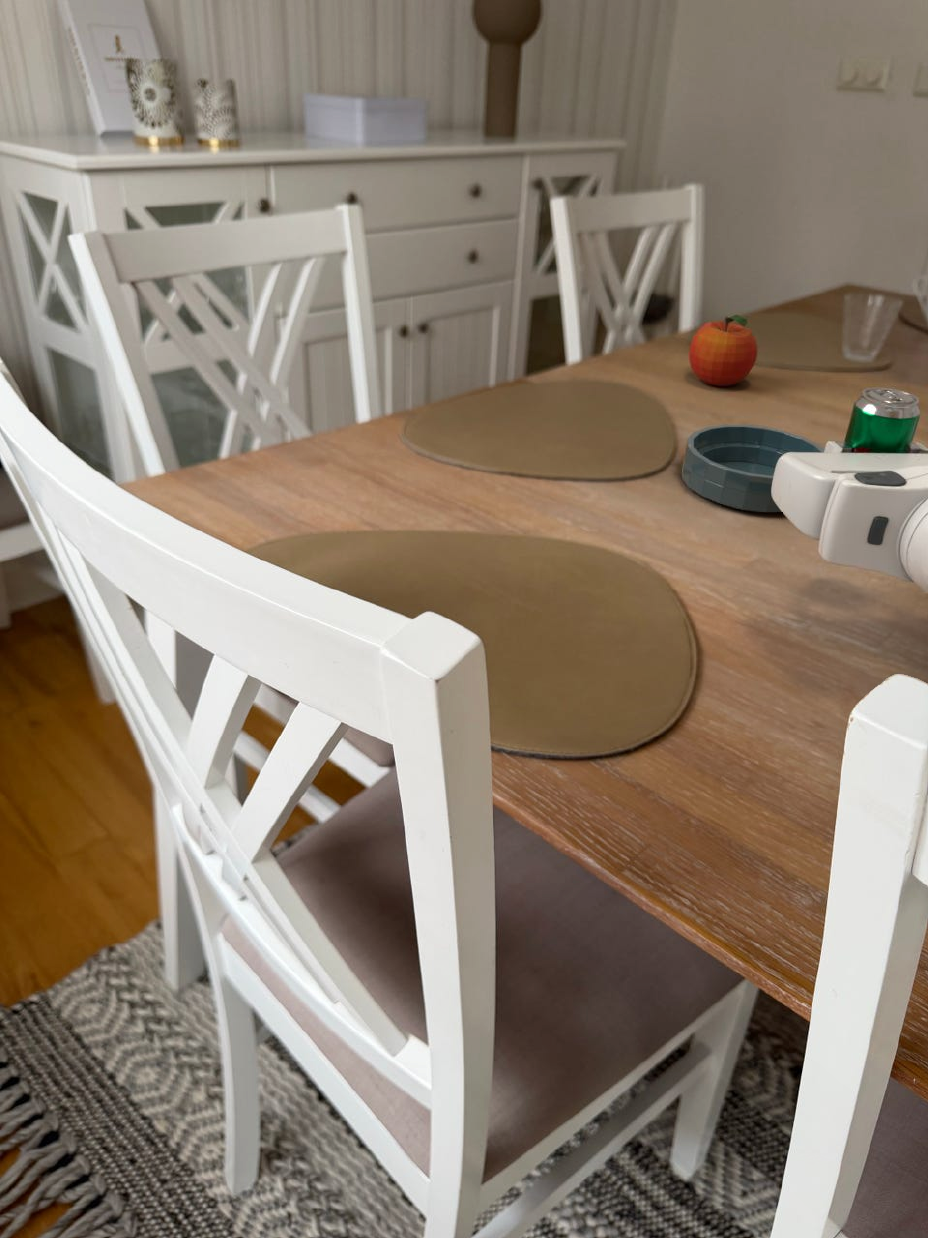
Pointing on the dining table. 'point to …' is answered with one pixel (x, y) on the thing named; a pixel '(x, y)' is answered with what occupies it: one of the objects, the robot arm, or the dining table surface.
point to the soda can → (883, 421)
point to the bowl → (739, 463)
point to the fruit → (723, 352)
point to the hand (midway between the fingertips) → (869, 450)
